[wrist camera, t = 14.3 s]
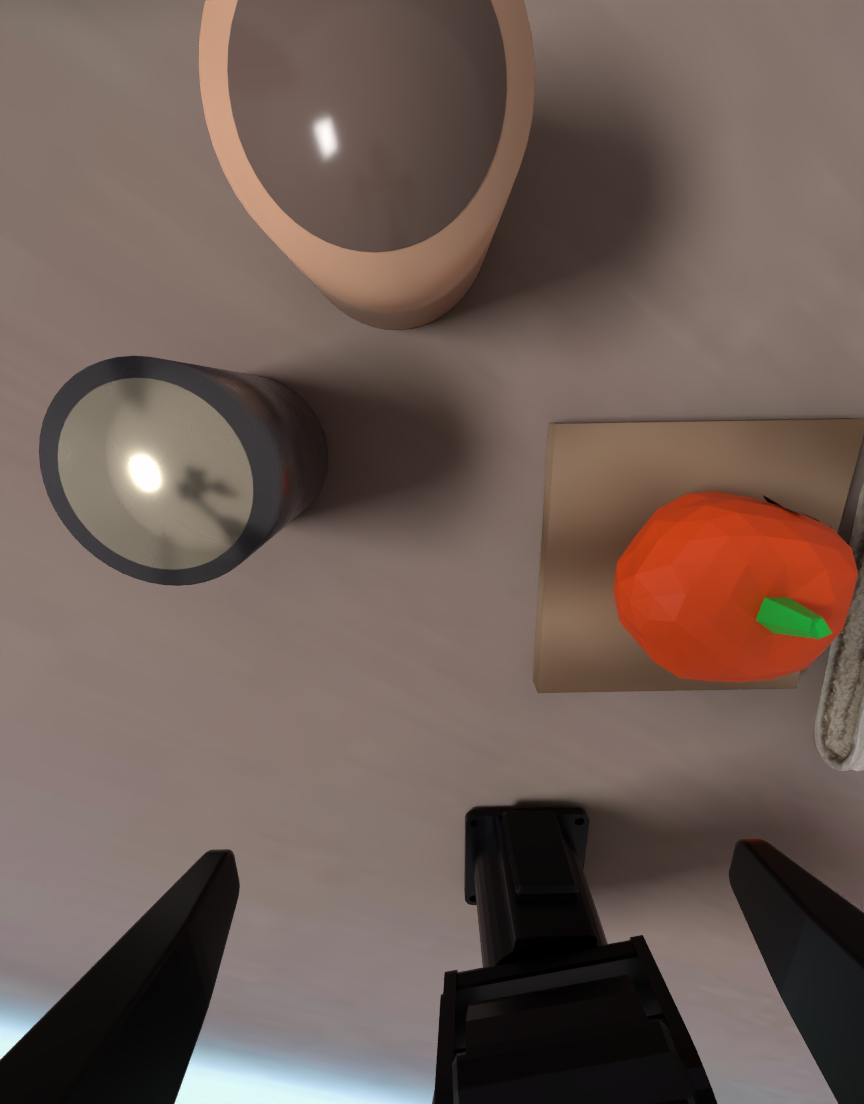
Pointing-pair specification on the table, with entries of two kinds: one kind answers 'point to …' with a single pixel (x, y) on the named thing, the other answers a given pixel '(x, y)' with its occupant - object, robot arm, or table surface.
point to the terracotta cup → (372, 138)
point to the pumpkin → (734, 588)
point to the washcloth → (846, 676)
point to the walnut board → (629, 502)
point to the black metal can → (178, 465)
